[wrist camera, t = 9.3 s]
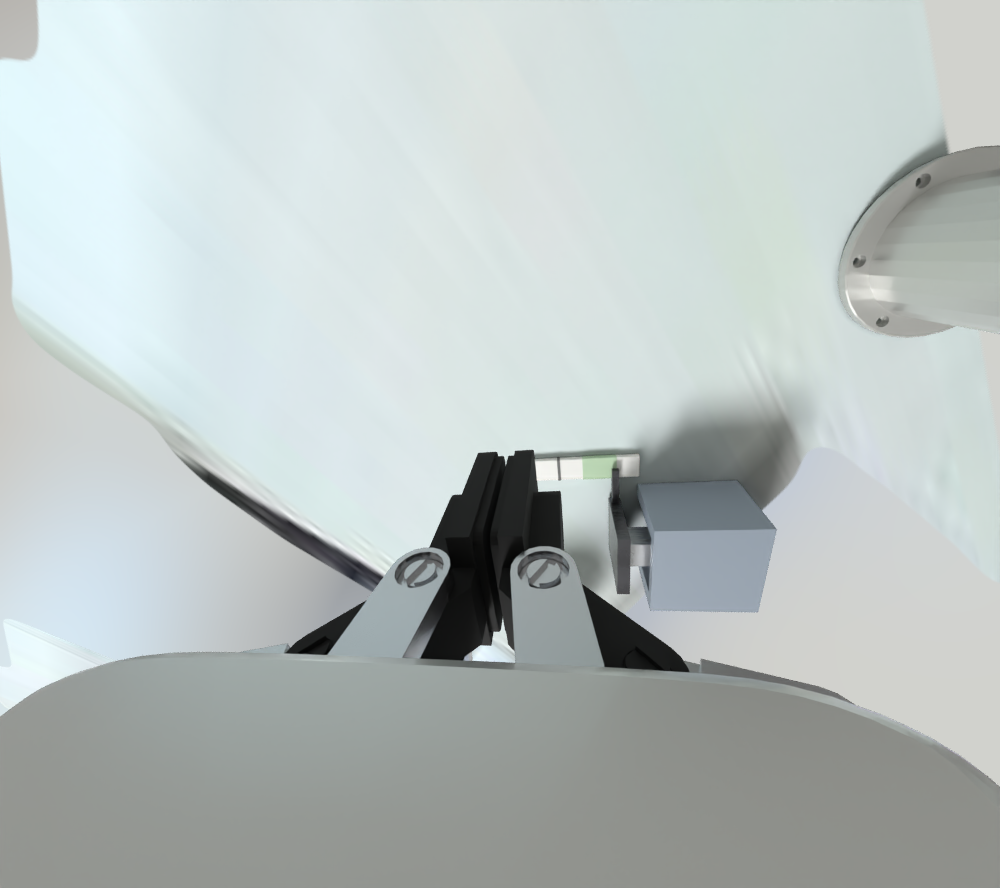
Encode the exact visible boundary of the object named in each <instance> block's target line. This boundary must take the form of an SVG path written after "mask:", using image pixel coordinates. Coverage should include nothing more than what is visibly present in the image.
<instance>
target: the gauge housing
mask: <svg viewBox="0 0 1000 888" xmlns="http://www.w3.org/2000/svg"><path fill="white" fill-rule="evenodd" d="M639 465H640V456H639V454H624V455H596V456H582V457H564V458H560V457H557V458H545V459H535V466H536V476H537V481H541V480H565V479H605V478H612V471H611V468H619V477H639ZM637 497H638V500H639V503H640V506H641V509H642V512H643V515H644V518H645V521H646V524H647V527H648V530H649V533H650V536H651V555H650V566H639V570H640V574H641V578H642V582H643V585H644V589H645V593H646V597H647V601H648V604H649V608H650V611H706V612H707V611H708V612H758V610H759V606H760V601H761V597H762V592H763V588H764V583H765V579H766V574H767V570H768V566H769V561H770V557H771V552H772V548H773V543H774V539H775V535H776V528H775V527H774V525H773V524H772V523H771V522H770V520H769V519H768V518H767V517H766V515H765V514H764V513H763V512H762V510H761V509H760V508H759V507H758V505H757V504H756V503H755V502H754V500H753V499H752V498H751V497H750V495H749V494H748V493H747V492H746V490H745V489H744V488H743V487H742V485H741V484H740V483H739V482H738V481H737V480H730V481H704V482H677V483H650V484H638V491H637Z"/></svg>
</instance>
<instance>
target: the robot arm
mask: <svg viewBox="0 0 1000 888" xmlns="http://www.w3.org/2000/svg"><path fill="white" fill-rule="evenodd" d="M854 259H855V261H854ZM853 261H854V263H853ZM838 288H839V295H840V299H841V301H842V304H843V306H844V308H845V310H846V311H847V313H848V314H849V315H850V317H851V318H852V319H853V320H854V321H855V322H857V323H858V324H859V325H861V326H862V327H863V328H866V329H868V330H870V331H873V332H875V333H879V334H883V335H887V336H892V337H904V338H909V337H920V336H927V335H931V334H935V333H939V332H943V331H945V330H948V329H950V328H953V327H956V326H958V327H963V328H969V329H974V330H980V331H986V332H991V333H997V334H1000V146H984V147H975V148H971V149H967V150H963V151H958V152H954V153H951V154H948V155H945V156H943V157H940V158H937V159H934V160H932V161H930V162H928V163H926V164H924V165H922V166H920V167H918V168H916V169H914V170H913V171H911V172H910V173H908V174H907V175H906V176H904V177H903V178H901V179H900V180H898V181H897V182H895V183H894V184H893V185H892V186H891V187H890V188H889V189H887V190H886V191H885V192H884V193H883V194H882V195H881V196H880V197H879V198H877V200H876V201H875V202H874V203H873V204H872V205H871V207H870V208H869V209H868V210H867V211H866V212H865V214H864V215H863V216H862V218H861V219H860V221H859V222H858V224H857V225H856V227H855V228H854V230H853V231H852V233H851V235H850V237H849V240H848V242H847V244H846V246H845V248H844V251H843V254H842V258H841V262H840V265H839V274H838ZM502 618H503V620H504V626H505V631H506V634H507V640H508V645H509V646H510V647H511V648H512V649H513V650H514V651H515V663H506V662H484V661H472V651H473V650H474V649H476V648H477V647H478V646H480V645H490V646H491V644H492V638H493V632H499V631H500V630H501V625H502ZM0 888H1000V787H999V786H998V785H997V784H996V783H995V782H994V781H993V780H991V779H990V778H989V777H988V776H986V775H985V774H984V773H982V772H981V771H980V770H979V769H977V768H976V767H975V766H973V765H972V764H971V763H969V762H968V761H967V760H965V759H964V758H963V757H961V756H960V755H958V754H957V753H955V752H953V751H952V750H950V749H949V748H947V747H945V746H944V745H942V744H940V743H939V742H937V741H936V740H934V739H932V738H930V737H928V736H926V735H924V734H922V733H920V732H918V731H916V730H914V729H912V728H910V727H908V726H906V725H904V724H902V723H900V722H897V721H895V720H893V719H890V718H888V717H886V716H883V715H881V714H879V713H876V712H873V711H871V710H868V709H865V708H862V707H859V706H856V705H855V704H853V703H852V702H850V701H849V700H847V699H845V698H844V697H842V696H840V695H839V694H838V693H835V692H832V691H830V690H827V689H824V688H821V687H819V686H814V685H810V684H806V683H802V682H798V681H793V680H789V679H785V678H781V677H776V676H772V675H768V674H764V673H759V672H755V671H751V670H747V669H742V668H738V667H734V666H730V665H725V664H721V663H717V662H713V661H709V660H704V659H701V660H700V665H699V664H695V663H691V662H687V661H683V659H682V658H681V657H680V656H679V655H678V654H677V653H676V652H675V651H674V650H673V649H672V648H671V647H669V646H668V645H666V644H665V643H664V642H662V641H661V640H659V639H658V638H657V637H655V636H654V635H652V634H651V633H650V632H648V631H647V630H645V629H644V628H643V627H641V626H640V625H638V624H637V623H635V622H634V621H633V620H631V619H630V618H629V617H627V616H626V615H624V614H623V613H622V612H620V611H619V610H617V609H616V608H615V607H613V606H612V605H610V604H609V603H608V602H606V601H605V600H603V599H602V598H601V597H599V596H598V595H596V594H595V593H594V592H592V591H591V590H589V589H588V588H587V587H585V586H584V585H582V583H581V580H580V576H579V572H578V569H577V565H576V563H575V561H574V559H573V558H572V557H571V556H570V555H569V554H568V553H567V552H565V551H564V538H563V518H562V504H561V492H560V491H549V492H538V486H537V476H536V466H535V456H534V450H523V451H515V454H514V456H508V460H507V464H506V465H505V459H504V456H498V454H497V452H486V453H478V455H477V457H476V460H475V463H474V465H473V468H472V470H471V473H470V475H469V478H468V480H467V483H466V485H465V488H464V490H463V493H462V495H453V496H452V497H451V499H450V501H449V503H448V506H447V508H446V510H445V513H444V515H443V517H442V519H441V522H440V524H439V526H438V529H437V531H436V533H435V536H434V538H433V540H432V542H431V545H430V547H429V548H421V549H416V550H413V551H411V552H409V553H406V554H405V555H403V556H402V557H400V558H399V559H398V560H397V561H396V562H395V563H394V564H393V565H392V566H391V568H390V569H389V570H388V572H387V573H386V575H385V576H384V577H383V579H382V580H381V581H380V583H379V584H378V586H377V587H376V588H375V590H374V591H373V593H372V594H371V595H370V597H369V598H368V599H367V600H366V601H365V602H363V603H361V604H359V605H358V606H356V607H354V608H353V609H351V610H349V611H347V612H346V613H344V614H342V615H340V616H339V617H337V618H335V619H333V620H332V621H330V622H328V623H327V624H325V625H323V626H321V627H320V628H318V629H316V630H315V631H313V632H311V633H309V634H308V635H306V636H305V637H303V638H302V639H300V640H299V641H297V642H296V643H295V644H294V645H293V646H292V647H291V648H290V647H289V645H288V644H281V645H276V646H271V647H265V648H260V649H254V650H249V651H243V652H187V653H186V652H183V653H166V654H157V655H146V656H140V657H135V658H129V659H124V660H119V661H114V662H110V663H107V664H103V665H100V666H97V667H93V668H90V669H87V670H84V671H80V672H78V673H75V674H73V675H70V676H67V677H65V678H63V679H60V680H58V681H56V682H54V683H51V684H49V685H47V686H45V687H43V688H41V689H39V690H37V691H36V692H34V693H33V694H31V695H29V696H28V697H26V698H25V699H24V700H22V701H21V702H19V703H18V704H16V705H15V706H14V707H12V708H11V709H10V710H8V711H7V712H6V713H5V714H3V715H2V716H0Z"/></svg>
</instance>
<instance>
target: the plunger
mask: <svg viewBox="0 0 1000 888" xmlns="http://www.w3.org/2000/svg"><path fill="white" fill-rule="evenodd" d="M611 471H612V498H609V550H610V556H611V562H612V567H613V573H614V578H615V584H616V589H617V594H630V566H650V555H651V536H650V533H649V530H648V527H627V523H626V519H625V516H624V512H623V508H622V504H621V500H620V498H619V468H611Z"/></svg>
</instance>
